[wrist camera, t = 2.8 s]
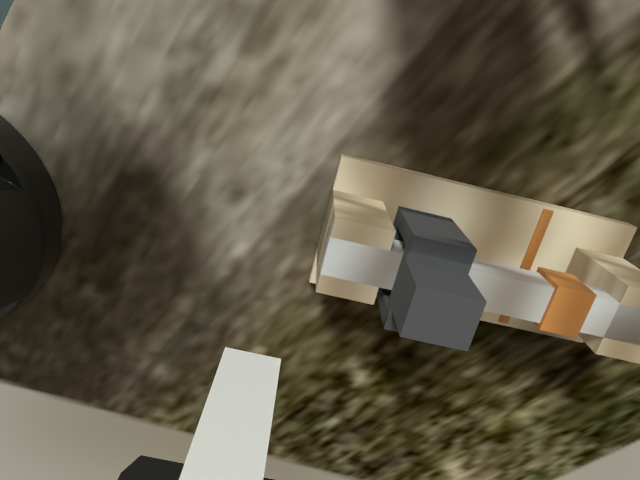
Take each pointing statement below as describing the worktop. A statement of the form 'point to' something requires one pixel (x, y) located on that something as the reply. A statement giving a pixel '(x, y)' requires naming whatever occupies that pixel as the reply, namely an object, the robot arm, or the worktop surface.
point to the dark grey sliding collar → (432, 283)
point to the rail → (488, 254)
